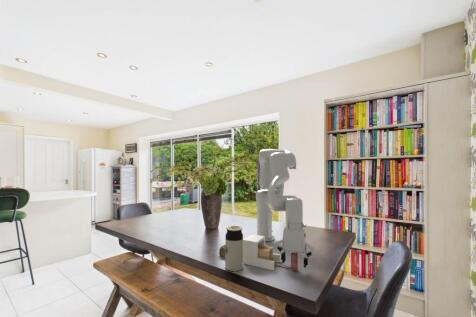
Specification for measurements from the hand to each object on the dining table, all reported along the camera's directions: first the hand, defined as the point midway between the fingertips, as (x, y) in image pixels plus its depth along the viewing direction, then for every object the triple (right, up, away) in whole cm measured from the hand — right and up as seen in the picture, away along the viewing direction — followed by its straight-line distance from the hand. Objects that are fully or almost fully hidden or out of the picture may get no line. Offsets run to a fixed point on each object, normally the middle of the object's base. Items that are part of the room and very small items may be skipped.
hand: (294, 264), depth 101 cm
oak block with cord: (-8, -3, +4) cm, 9 cm away
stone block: (-29, -3, +14) cm, 32 cm away
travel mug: (-27, -3, +1) cm, 27 cm away
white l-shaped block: (-13, -3, +7) cm, 15 cm away
